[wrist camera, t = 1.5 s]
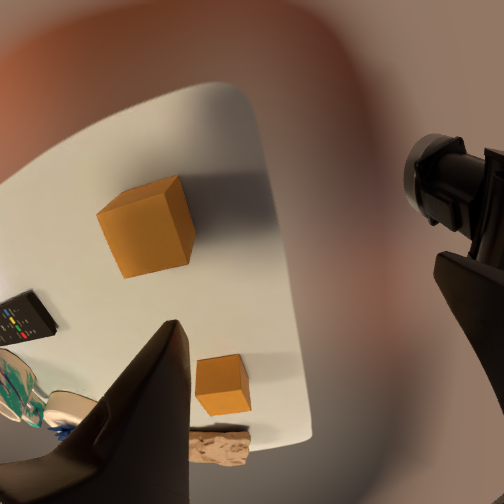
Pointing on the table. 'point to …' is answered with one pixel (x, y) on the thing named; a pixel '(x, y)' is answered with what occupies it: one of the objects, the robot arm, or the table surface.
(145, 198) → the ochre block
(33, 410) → the mug
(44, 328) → the remote control
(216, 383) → the ochre block middle
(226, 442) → the stone
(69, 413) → the box with blue lotus
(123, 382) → the robot arm
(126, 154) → the table surface
